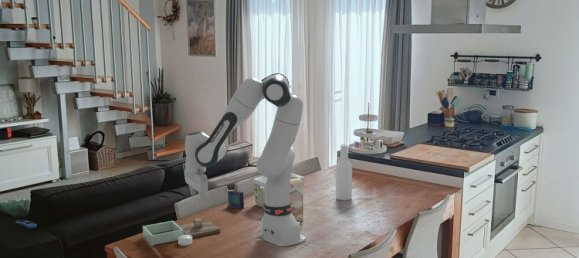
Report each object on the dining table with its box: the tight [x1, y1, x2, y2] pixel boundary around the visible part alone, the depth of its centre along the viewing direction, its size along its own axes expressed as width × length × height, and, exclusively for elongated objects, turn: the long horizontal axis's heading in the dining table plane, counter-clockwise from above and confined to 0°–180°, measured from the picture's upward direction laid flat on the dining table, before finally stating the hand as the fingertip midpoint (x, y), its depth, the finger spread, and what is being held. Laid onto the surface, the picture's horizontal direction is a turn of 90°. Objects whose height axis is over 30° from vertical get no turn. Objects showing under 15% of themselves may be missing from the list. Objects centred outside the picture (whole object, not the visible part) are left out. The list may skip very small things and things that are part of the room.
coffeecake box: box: [289, 178, 304, 222], centre depth 252 cm, size 15×7×20 cm, turn 105°
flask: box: [227, 186, 245, 210], centre depth 273 cm, size 9×3×11 cm, turn 65°
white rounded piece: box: [177, 235, 193, 247], centre depth 223 cm, size 6×6×4 cm
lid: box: [178, 217, 221, 239], centre depth 237 cm, size 15×15×5 cm
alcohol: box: [335, 143, 353, 201], centre depth 285 cm, size 9×9×30 cm
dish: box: [142, 220, 184, 248], centre depth 230 cm, size 14×14×5 cm
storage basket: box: [252, 173, 305, 209], centre depth 278 cm, size 24×16×15 cm
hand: (196, 197), depth 235 cm, fingers open, 8 cm apart
